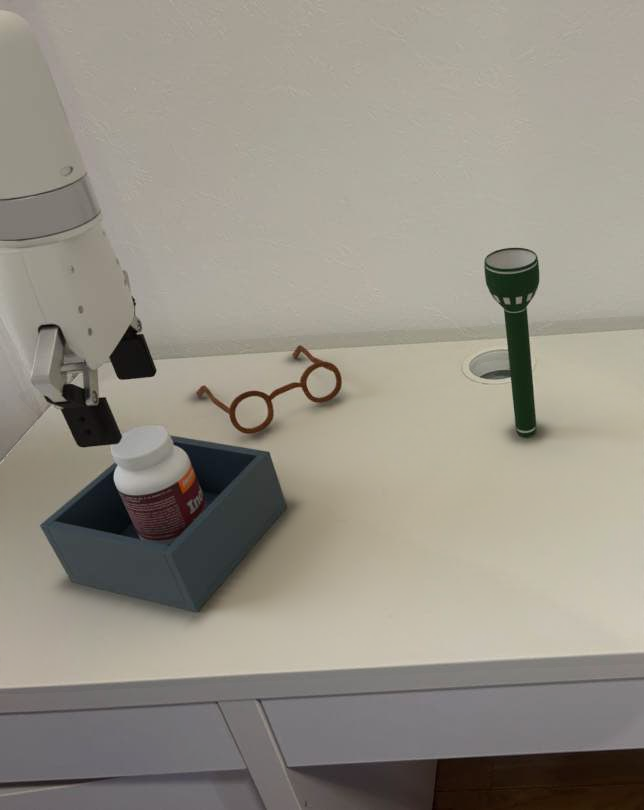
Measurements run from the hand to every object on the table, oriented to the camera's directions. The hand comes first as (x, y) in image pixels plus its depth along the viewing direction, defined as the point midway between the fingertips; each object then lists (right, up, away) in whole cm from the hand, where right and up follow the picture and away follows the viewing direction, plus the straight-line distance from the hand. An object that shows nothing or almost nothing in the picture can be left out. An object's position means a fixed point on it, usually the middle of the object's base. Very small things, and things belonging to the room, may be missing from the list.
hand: (120, 408), depth 65 cm
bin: (+1, -12, +8) cm, 15 cm away
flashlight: (+33, -3, +19) cm, 38 cm away
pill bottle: (+1, -12, +8) cm, 15 cm away
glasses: (+3, +1, +29) cm, 29 cm away
